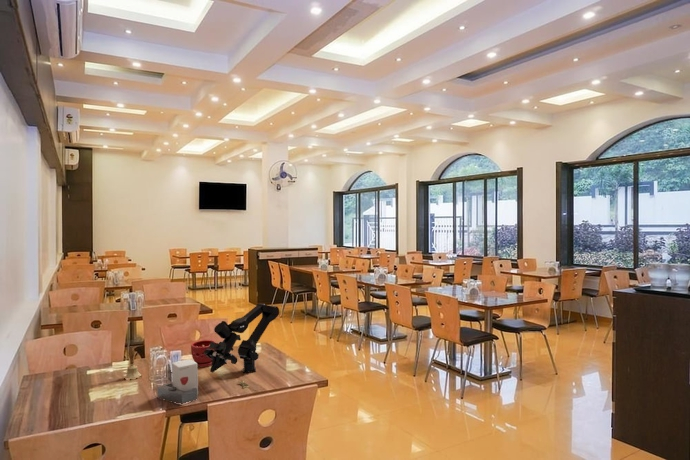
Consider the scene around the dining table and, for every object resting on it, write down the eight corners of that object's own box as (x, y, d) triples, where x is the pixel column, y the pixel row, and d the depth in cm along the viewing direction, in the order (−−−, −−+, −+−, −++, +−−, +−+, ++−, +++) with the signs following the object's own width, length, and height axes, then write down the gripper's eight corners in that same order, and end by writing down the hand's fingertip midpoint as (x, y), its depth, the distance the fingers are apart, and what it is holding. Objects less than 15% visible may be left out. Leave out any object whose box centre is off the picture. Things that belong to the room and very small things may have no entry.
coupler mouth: (173, 392, 218) (172, 380, 218) (197, 399, 208) (196, 387, 208) (157, 398, 211) (157, 385, 211) (181, 405, 202) (181, 392, 201)
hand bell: (129, 381, 234) (127, 349, 234) (120, 378, 239) (119, 346, 239) (144, 376, 241) (143, 345, 240) (136, 373, 246) (135, 343, 245)
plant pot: (186, 366, 256) (185, 344, 256) (206, 359, 267) (205, 338, 266) (202, 370, 249) (201, 347, 248) (221, 363, 259) (221, 341, 259)
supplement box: (178, 401, 207) (177, 367, 207) (172, 395, 214) (171, 362, 214) (198, 395, 213) (197, 362, 212) (192, 390, 220) (190, 358, 219)
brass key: (236, 383, 227) (236, 382, 227) (242, 382, 229) (242, 380, 229) (243, 388, 221) (243, 386, 221) (250, 386, 223) (249, 385, 223)
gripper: (205, 332, 234) (188, 360, 226) (231, 337, 224) (214, 367, 215) (218, 344, 241) (202, 372, 233) (244, 349, 231) (228, 378, 222)
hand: (211, 372), depth 225 cm, fingers closed
